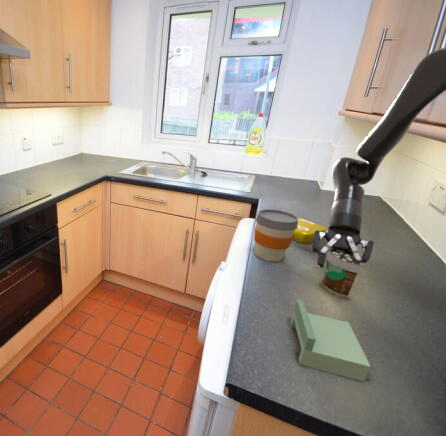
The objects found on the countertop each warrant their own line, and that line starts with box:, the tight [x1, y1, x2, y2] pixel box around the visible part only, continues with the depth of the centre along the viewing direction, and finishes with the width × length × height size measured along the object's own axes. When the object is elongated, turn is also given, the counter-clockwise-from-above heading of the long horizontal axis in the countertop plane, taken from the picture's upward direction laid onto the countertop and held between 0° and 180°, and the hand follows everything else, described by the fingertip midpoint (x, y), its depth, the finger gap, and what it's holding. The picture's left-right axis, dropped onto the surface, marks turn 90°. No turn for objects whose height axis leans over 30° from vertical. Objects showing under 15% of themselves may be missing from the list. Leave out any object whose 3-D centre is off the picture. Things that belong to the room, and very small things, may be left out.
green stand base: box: [289, 299, 372, 383], centre depth 63 cm, size 11×13×7 cm
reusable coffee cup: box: [253, 208, 299, 263], centre depth 101 cm, size 13×13×15 cm
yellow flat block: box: [292, 217, 327, 245], centre depth 121 cm, size 15×15×5 cm
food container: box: [322, 247, 361, 297], centre depth 83 cm, size 12×6×10 cm, turn 157°
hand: (337, 270), depth 81 cm, fingers closed on food container, 6 cm apart
